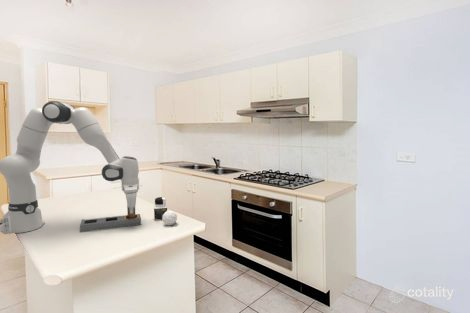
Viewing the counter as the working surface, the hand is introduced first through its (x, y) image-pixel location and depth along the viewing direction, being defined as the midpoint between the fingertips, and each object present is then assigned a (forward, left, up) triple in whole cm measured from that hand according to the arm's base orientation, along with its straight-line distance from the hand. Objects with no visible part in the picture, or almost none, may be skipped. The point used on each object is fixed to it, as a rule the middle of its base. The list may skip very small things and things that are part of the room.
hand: (131, 211), depth 155 cm
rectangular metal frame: (-6, -8, -7) cm, 12 cm away
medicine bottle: (+8, +14, -7) cm, 18 cm away
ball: (+20, +8, -7) cm, 22 cm away
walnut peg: (0, 0, -7) cm, 7 cm away
